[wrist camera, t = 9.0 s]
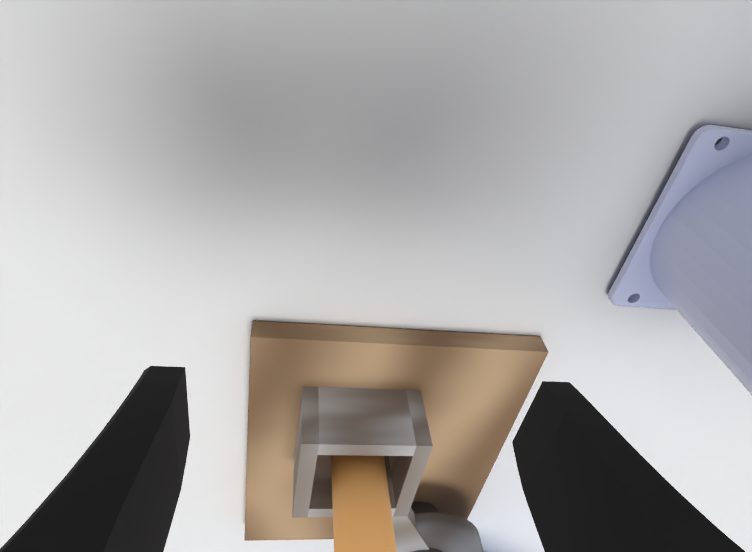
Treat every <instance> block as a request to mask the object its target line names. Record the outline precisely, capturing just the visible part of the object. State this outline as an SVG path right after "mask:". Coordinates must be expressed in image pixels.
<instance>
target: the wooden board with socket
mask: <svg viewBox="0 0 752 552" xmlns="http://www.w3.org/2000/svg"><path fill="white" fill-rule="evenodd" d="M547 354H548V350H547V348H546V346H545V344H544V342H543V340H542V339H541V337H538V336H520V335H502V334H484V333H466V332H448V331H430V330H411V329H393V328H375V327H357V326H339V325H321V324H303V323H285V322H267V321H253V324H252V331H251V342H250V375H249V409H248V442H247V475H246V509H245V540H304V539H334V532H333V504H332V476H331V455H361V456H384V459H385V466H386V474H387V482H388V489H389V497H390V504H391V512H392V520H393V527H394V535H395V543H396V550H397V552H483V548H482V544H481V540H480V536H479V533H478V530H477V528H476V527H475V526H474V525H473V524H472V523H471V522H469V521H468V520H467V518H468V516H469V514H470V512H471V510H472V508H473V506H474V504H475V502H476V500H477V498H478V496H479V494H480V492H481V490H482V488H483V485H484V483H485V481H486V479H487V477H488V475H489V473H490V471H491V469H492V467H493V465H494V463H495V461H496V459H497V457H498V455H499V453H500V451H501V448H502V446H503V444H504V442H505V440H506V438H507V436H508V434H509V432H510V430H511V428H512V426H513V424H514V422H515V420H516V418H517V416H518V413H519V411H520V409H521V407H522V405H523V403H524V401H525V399H526V397H527V395H528V393H529V391H530V389H531V387H532V385H533V383H534V381H535V379H536V376H537V374H538V372H539V370H540V368H541V366H542V364H543V362H544V360H545V358H546V356H547Z"/></svg>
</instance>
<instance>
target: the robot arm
mask: <svg viewBox="0 0 752 552" xmlns="http://www.w3.org/2000/svg"><path fill="white" fill-rule="evenodd" d="M721 137H722V140H721V141H720V143H719V144H717V145H716V146H715V143H716V141H717V140H718V139H720V138H721ZM632 294H634V295H632ZM630 295H632V296H631V297H630ZM608 297H609V299H610V301H611V302H612V303H613V304H614V305H617V306H628V307H642V308H657V309H672V310H678V312H679V313H680V314H681V315H682V316H683V317H684V318H685V320H686V321H687V322H688V323H689V324H690V325H691V326H692V328H693V329H694V330H695V331H696V332H697V333H698V334H699V335H700V337H701V338H702V339H703V340H704V341H705V342H706V343H707V345H708V346H709V347H710V348H711V349H712V350H713V351H714V353H715V354H716V355H717V356H718V357H719V358H720V359H721V360H722V362H723V363H724V364H725V365H726V366H727V367H728V368H729V370H730V371H731V372H732V373H733V374H734V375H735V376H736V378H737V379H738V380H739V381H740V382H741V383H742V384H743V385H744V387H745V388H746V389H747V390H748V391H749V392H750V393H751V395H752V130H745V129H738V128H731V127H724V126H717V125H705V126H702V127H700V128H699V129H698V130H696V131H695V132H694V134H693V135H692V136H691V138H690V140H689V142H688V144H687V146H686V148H685V150H684V152H683V153H682V155H681V157H680V159H679V161H678V163H677V165H676V167H675V169H674V170H673V172H672V174H671V176H670V178H669V180H668V182H667V184H666V185H665V187H664V189H663V191H662V193H661V195H660V197H659V199H658V201H657V202H656V204H655V206H654V208H653V210H652V212H651V214H650V216H649V218H648V219H647V221H646V223H645V225H644V227H643V229H642V231H641V233H640V235H639V236H638V238H637V240H636V242H635V244H634V246H633V248H632V250H631V251H630V253H629V255H628V257H627V259H626V261H625V263H624V265H623V267H622V268H621V270H620V272H619V274H618V276H617V278H616V280H615V282H614V284H613V285H612V287H611V289H610V291H609V294H608ZM189 440H190V430H189V416H188V402H187V388H186V374H185V367H162V366H150V367H149V368H147V369H146V370H145V371H144V372H143V374H142V375H141V377H140V378H139V380H138V381H137V383H136V384H135V386H134V387H133V389H132V390H131V392H130V393H129V395H128V396H127V397H126V399H125V400H124V402H123V403H122V404H121V406H120V407H119V409H118V410H117V411H116V413H115V414H114V415H113V417H112V418H111V419H110V421H109V422H108V423H107V425H106V426H105V427H104V429H103V430H102V431H101V433H100V434H99V435H98V437H97V438H96V439H95V440H94V442H93V443H92V444H91V445H90V447H89V448H88V449H87V450H86V452H85V453H84V454H83V455H82V457H81V458H80V459H79V460H78V462H77V463H76V464H75V465H74V467H73V468H72V469H71V470H70V471H69V473H68V474H67V475H66V476H65V477H64V479H63V480H62V481H61V482H60V483H59V484H58V485H57V487H56V488H55V489H54V490H53V491H52V492H51V493H50V495H49V496H48V497H47V498H46V499H45V500H44V501H43V503H42V504H41V505H40V506H39V507H38V508H37V509H36V511H35V512H34V513H33V514H32V515H31V516H30V517H29V519H28V520H27V521H26V522H25V523H24V524H23V525H22V526H21V527H20V528H19V530H18V531H17V532H16V533H15V534H14V535H13V536H12V537H11V538H10V539H9V540H8V541H7V542H6V543H5V545H4V546H3V547H2V548H1V549H0V552H163V550H164V547H165V544H166V540H167V537H168V533H169V530H170V526H171V522H172V519H173V515H174V512H175V508H176V505H177V501H178V498H179V494H180V490H181V485H182V480H183V474H184V469H185V463H186V457H187V451H188V445H189ZM512 443H513V447H514V452H515V457H516V462H517V467H518V471H519V475H520V479H521V483H522V488H523V491H524V494H525V497H526V500H527V503H528V506H529V509H530V511H531V514H532V517H533V520H534V523H535V526H536V528H537V531H538V534H539V537H540V539H541V542H542V545H543V548H544V550H545V552H745V551H744V550H743V549H741V548H740V547H739V546H738V545H737V544H735V543H734V542H733V541H732V540H731V539H729V538H728V537H727V536H726V535H725V534H724V533H723V532H721V531H720V530H719V529H718V528H717V527H716V526H715V525H713V524H712V523H711V522H710V521H709V520H708V519H707V518H706V517H705V516H704V515H703V514H701V513H700V512H699V511H698V510H697V509H696V508H695V507H694V506H693V505H692V504H691V503H690V502H688V501H687V500H686V499H685V498H684V497H683V496H682V495H681V494H680V493H679V492H678V491H677V490H676V489H675V488H674V487H673V486H672V485H670V484H669V483H668V482H667V481H666V480H665V479H664V478H663V477H662V476H661V475H660V474H659V473H658V472H657V471H656V470H655V469H654V468H653V467H652V466H651V465H650V464H649V463H648V462H647V461H646V460H645V459H644V458H643V457H642V456H641V455H640V454H639V453H638V452H637V451H636V450H635V449H634V448H633V447H632V446H631V445H630V444H629V443H628V442H627V441H626V440H625V439H624V438H623V436H622V435H621V434H620V433H619V432H618V431H617V430H616V429H615V428H614V427H613V426H612V425H611V424H610V423H609V422H608V421H607V420H606V419H605V418H604V417H603V416H602V415H601V414H600V413H599V412H598V411H597V410H596V409H595V408H594V406H593V405H592V404H591V403H590V402H589V401H588V400H587V399H586V398H585V397H584V396H583V395H582V394H581V393H580V392H579V391H578V390H577V389H576V388H575V387H574V386H573V385H572V384H570V383H569V382H545V381H543V382H542V384H541V386H540V388H539V390H538V392H537V394H536V396H535V398H534V400H533V402H532V404H531V406H530V408H529V410H528V412H527V414H526V416H525V418H524V420H523V422H522V424H521V426H520V428H519V430H518V432H517V434H516V436H515V438H514V440H513V442H512Z"/></svg>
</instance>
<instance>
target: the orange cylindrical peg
mask: <svg viewBox="0 0 752 552" xmlns="http://www.w3.org/2000/svg"><path fill="white" fill-rule="evenodd" d="M331 476H332V504H333V532H334V552H397V550H396V543H395V535H394V527H393V520H392V512H391V504H390V497H389V489H388V482H387V474H386V466H385V459H384V456H361V455H331Z"/></svg>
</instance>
